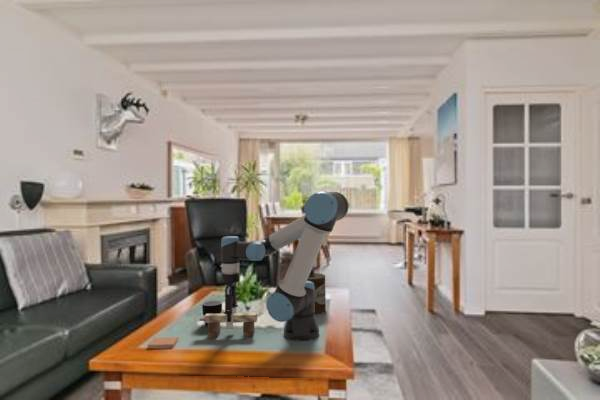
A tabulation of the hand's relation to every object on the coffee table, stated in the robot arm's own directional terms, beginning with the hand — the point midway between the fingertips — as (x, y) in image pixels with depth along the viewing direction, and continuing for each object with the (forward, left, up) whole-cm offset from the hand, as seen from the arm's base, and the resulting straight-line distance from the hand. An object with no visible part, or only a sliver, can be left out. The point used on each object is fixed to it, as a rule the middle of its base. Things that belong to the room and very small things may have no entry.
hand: (231, 325), depth 173 cm
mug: (+12, -16, -4) cm, 20 cm away
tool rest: (0, 0, -4) cm, 4 cm away
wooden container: (-35, -35, -4) cm, 50 cm away
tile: (+21, +10, -4) cm, 23 cm away
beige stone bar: (0, 0, +2) cm, 2 cm away
